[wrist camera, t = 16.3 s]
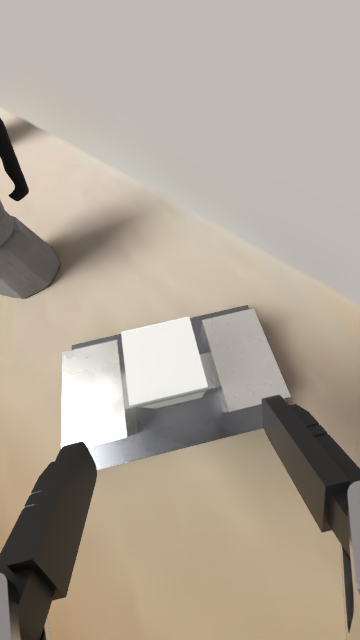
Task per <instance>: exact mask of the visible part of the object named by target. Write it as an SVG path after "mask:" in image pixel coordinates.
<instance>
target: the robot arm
mask: <svg viewBox="0 0 360 640" xmlns="http://www.w3.org/2000/svg"><path fill="white" fill-rule="evenodd" d="M262 414H263V425H264V429H265V432H266V434H267V437H268V439H269V440H270V442H271V444H272V446H273V447H274V449H275V451H276V453H277V454H278V456H279V458H280V460H281V461H282V463H283V465H284V467H285V469H286V470H287V472H288V474H289V476H290V477H291V479H292V481H293V483H294V484H295V486H296V488H297V490H298V491H299V493H300V495H301V497H302V498H303V500H304V502H305V504H306V505H307V507H308V509H309V511H310V512H311V514H312V516H313V518H314V519H315V521H316V523H317V525H318V526H319V528H320V530H321V532H326V531H330V530H333V532H334V533H335V535H336V537H337V538H338V540H339V542H340V543H341V545H340V548H341V564H342V581H343V598H344V614H345V633H346V640H360V468H359V467H358V466H357V465H356V464H355V463H354V462H353V461H352V460H351V458H350V457H349V456H348V455H347V454H346V453H345V452H344V451H343V450H342V448H341V447H340V446H339V445H338V444H337V443H336V442H335V441H334V440H333V438H332V437H331V436H330V435H328V434H327V432H326V431H325V430H324V428H323V427H322V426H321V425H319V423H318V422H317V421H316V420H315V418H314V417H313V416H312V415H311V414H310V413H309V412H308V411H306V410H305V409H303V408H301V407H300V406H298V405H297V404H294V405H290V406H289V405H288V404H287V402H286V401H285V400H284V399H283V398H282V396H280V395H274V396H270V397H266V398H262ZM96 478H97V468H96V464H95V462H94V460H93V458H92V456H91V454H90V452H89V450H88V448H87V446H86V444H85V442H83V441H80V442H76V443H72V444H68V445H64V446H63V447H62V448H61V450H60V452H59V454H58V456H57V458H56V460H55V462H51V463H50V464H49V465H48V467H47V468H46V469H45V470H44V472H43V473H42V474H41V475H40V476H39V478H38V480H37V482H36V484H35V486H34V488H33V490H32V492H31V493H32V494H31V495H30V496H29V498H28V500H27V502H26V504H25V508H24V509H23V510H22V512H21V514H20V516H19V518H18V520H17V522H16V524H15V526H14V528H13V530H12V532H11V534H10V536H9V538H8V540H7V541H6V543H5V545H4V547H3V549H2V551H1V553H0V640H53V639H52V634H51V628H50V623H49V619H48V617H47V615H48V612H49V609H50V605H51V602H52V600H56V599H60V598H64V597H66V595H67V591H68V587H69V583H70V579H71V576H72V572H73V568H74V564H75V560H76V556H77V552H78V548H79V545H80V541H81V537H82V533H83V529H84V525H85V521H86V517H87V514H88V510H89V506H90V502H91V498H92V494H93V490H94V486H95V483H96Z"/></svg>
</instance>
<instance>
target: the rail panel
mask: <svg viewBox="0 0 360 640" xmlns="http://www.w3.org/2000/svg"><path fill="white" fill-rule="evenodd" d="M190 321H191V325H192V328H193V332H194V336H195V340H196V343H197V347H198V351H199V355H200V358H201V362H202V366H203V370H204V373H205V377H206V381H207V385H208V388H207V390H206V391H205V393H204V395H203V396H202V398H198V399H194V400H190V401H186V402H181V403H177V404H173V405H169V406H165V407H161V408H157V409H153V408H144V407H134V406H129V399H128V390H127V381H126V372H125V363H124V354H123V346H122V337H121V334H119V335H115V336H111V337H106V338H102V339H98V340H93V341H89V342H85V343H80V344H76V345H72V350H70V351H66V352H62V447H63V446H64V445H68V444H72V443H76V442H80V441H83V442H85V444H86V446H87V448H88V450H89V452H90V454H91V456H92V458H93V460H94V462H95V464H96V468H97V470H99V469H103V468H107V467H111V466H115V465H119V464H123V463H126V462H130V461H134V460H138V459H142V458H146V457H150V456H154V455H158V454H162V453H166V452H170V451H174V450H178V449H182V448H186V447H189V446H193V445H197V444H201V443H205V442H209V441H213V440H217V439H221V438H225V437H229V436H233V435H237V434H241V433H245V432H249V431H253V430H256V429H260V428H264V425H263V414H262V398H266V397H270V396H274V395H280V396H282V398H283V399H284V400H285V401H286V402H287V400H286V398H287V397H291V396H290V393H289V391H288V389H287V386H286V384H285V381H284V379H283V377H282V374H281V372H280V370H279V367H278V365H277V362H276V360H275V358H274V355H273V353H272V350H271V348H270V346H269V343H268V341H267V339H266V336H265V334H264V331H263V329H262V327H261V324H260V322H259V320H258V317H257V315H256V312H255V310H254V308H252V309H249V307H248V305H246V306H242V307H237V308H233V309H228V310H224V311H220V312H215V313H211V314H207V315H202V316H198V317H194V318H190ZM287 404H288V403H287Z"/></svg>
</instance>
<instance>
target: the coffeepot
mask: <svg viewBox="0 0 360 640" xmlns="http://www.w3.org/2000/svg"><path fill="white" fill-rule="evenodd" d="M0 157H1V159H2V162H3V166H4V169H5V171H6V173H7V174H8V176H9V177H10V178H11V180H12V181H13V182H14V184H15V189H14V191H13V192H12V193H11V194H10V195H9V197H11V198H12V199H14V200H15V201H19V200H21V199H22V198H24V197H25V196H26V195H27V194H28V192H29V189H28V186H27V184H26V181H25V178H24V176H23V173H22V171H21V168H20V165H19V163H18V160H17V157H16V155H15V152H14V150H13V147H12V144H11V142H10V139H9V136H8V133H7V130H6V127H5V125H4V123H3V121H2V120H1V118H0ZM59 265H60V262H59V260H58V258H57V256H56V255H55V253H54V251H53V249H52V247H50V246H49V245H48V244H47V243H46V242H44V241H43V240H42V239H41V238H40V237H38V236H37V235H36V234H35V233H34V232H32V231H31V230H30V229H29V228H28V227H26V226H25V225H24V224H23V223H22V222H20V221H19V220H18V219H17V218H15V217H13V216H10V215H9V214H8V213H7V212H6V211H5V210H4V207H3V205H2V203H1V201H0V294H1V295H6V296H10V297H14V298H25V297H28V296H31V295H34V294H36V293H38V292H40V291H41V290H43V289H44V288H45V287H47V286H48V285H49V284H50V283H51V282H52V281H53V279H54V278H55V276H56V274H57V272H58V268H59Z"/></svg>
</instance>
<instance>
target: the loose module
mask: <svg viewBox="0 0 360 640" xmlns="http://www.w3.org/2000/svg"><path fill="white" fill-rule="evenodd" d="M121 337H122V346H123V354H124V363H125V372H126V381H127V390H128V399H129V406H134V407H144V408H153V409H157V408H161V407H165V406H169V405H173V404H177V403H181V402H186V401H190V400H194V399H198V398H202V396H203V395H204V393H205V391H206V390H207V388H208V385H207V381H206V377H205V373H204V370H203V366H202V362H201V358H200V355H199V351H198V347H197V343H196V340H195V336H194V332H193V328H192V325H191V321H190V317H184V318H180V319H175V320H171V321H167V322H162V323H158V324H153V325H149V326H144V327H140V328H136V329H131V330H127V331H122V332H121Z"/></svg>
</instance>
